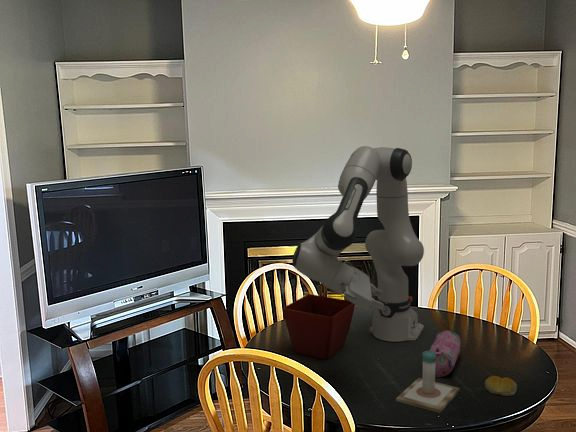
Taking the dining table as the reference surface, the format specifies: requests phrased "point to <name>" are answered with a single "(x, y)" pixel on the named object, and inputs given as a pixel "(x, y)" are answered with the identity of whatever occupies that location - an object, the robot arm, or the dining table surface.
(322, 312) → the plant pot
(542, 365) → the dining table surface
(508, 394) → the bread roll
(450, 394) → the picture frame
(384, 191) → the robot arm
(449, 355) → the pencil case
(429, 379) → the marker
